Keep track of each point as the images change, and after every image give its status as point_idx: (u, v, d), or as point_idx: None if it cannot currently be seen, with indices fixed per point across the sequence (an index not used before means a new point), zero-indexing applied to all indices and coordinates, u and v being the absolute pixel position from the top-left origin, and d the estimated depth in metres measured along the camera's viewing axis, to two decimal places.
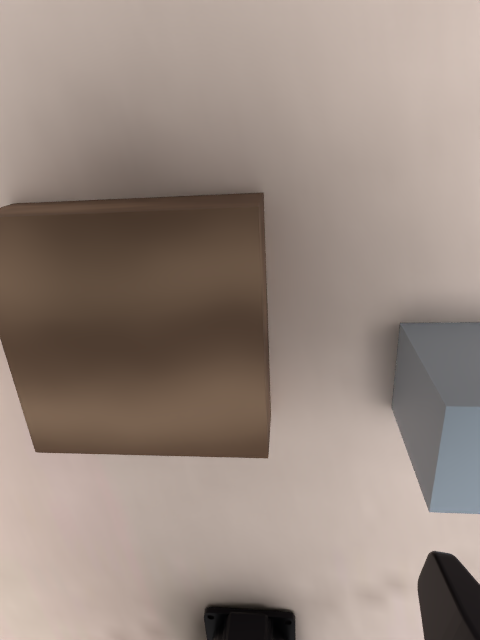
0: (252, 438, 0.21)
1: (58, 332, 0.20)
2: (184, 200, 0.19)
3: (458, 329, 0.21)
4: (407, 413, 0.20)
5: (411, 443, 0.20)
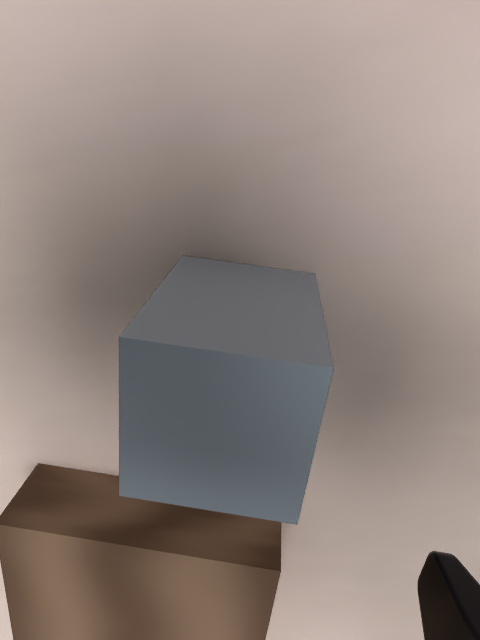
0: (249, 578, 0.18)
1: None
2: None
3: None
4: None
5: None
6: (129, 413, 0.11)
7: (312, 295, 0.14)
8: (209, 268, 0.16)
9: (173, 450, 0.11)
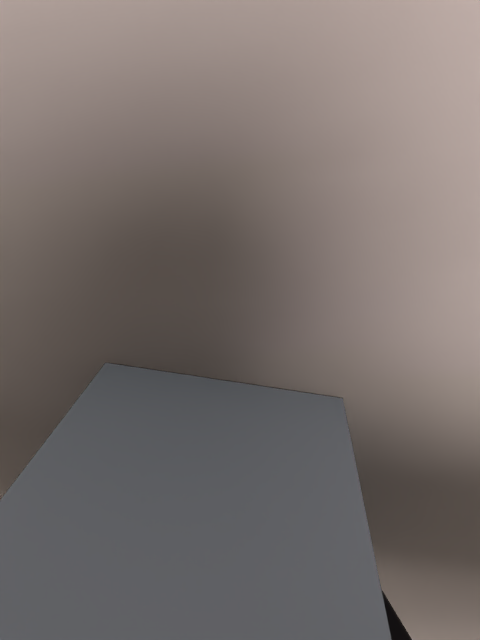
0: None
1: None
2: None
3: None
4: None
5: None
6: None
7: (345, 482, 0.07)
8: (145, 401, 0.08)
9: None
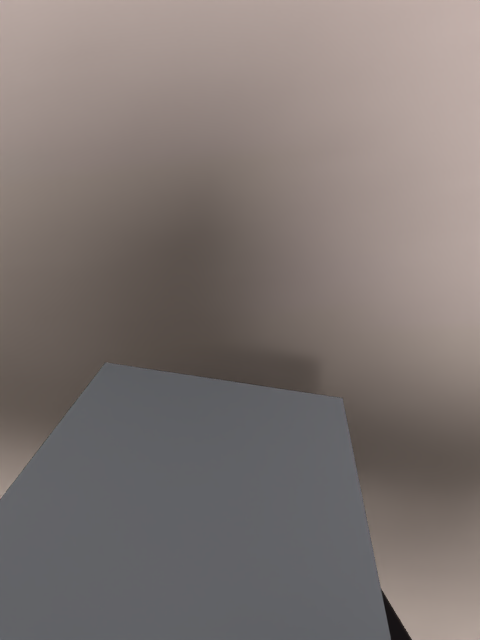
0: None
1: None
2: None
3: None
4: None
5: None
6: None
7: (344, 481, 0.07)
8: (145, 401, 0.08)
9: None
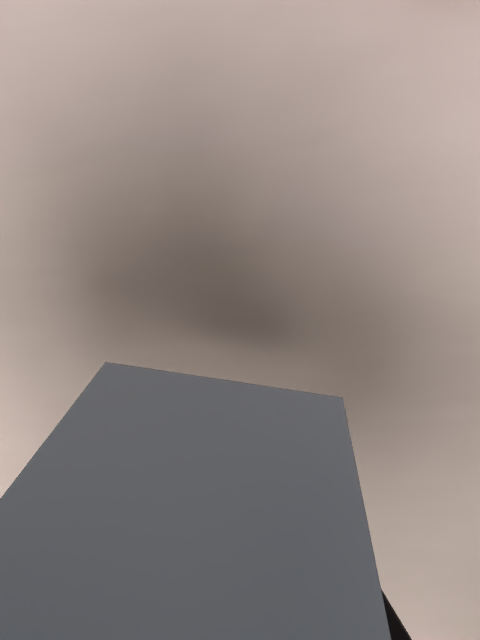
0: None
1: None
2: None
3: None
4: None
5: None
6: None
7: (344, 481, 0.07)
8: (144, 400, 0.08)
9: None
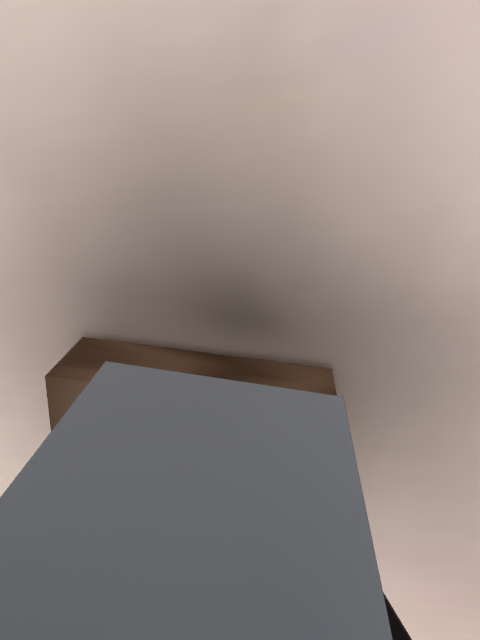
0: None
1: None
2: None
3: None
4: None
5: None
6: None
7: (345, 480, 0.07)
8: (145, 400, 0.08)
9: None
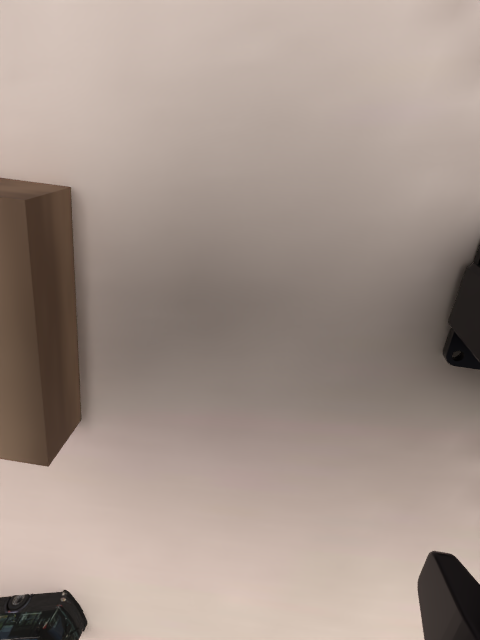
0: None
1: None
2: None
3: None
4: None
5: None
6: None
7: None
8: None
9: None
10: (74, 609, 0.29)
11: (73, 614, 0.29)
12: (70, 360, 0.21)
